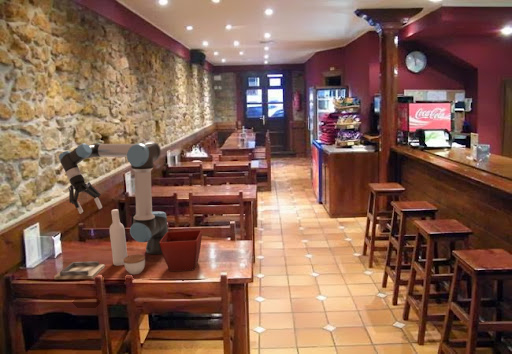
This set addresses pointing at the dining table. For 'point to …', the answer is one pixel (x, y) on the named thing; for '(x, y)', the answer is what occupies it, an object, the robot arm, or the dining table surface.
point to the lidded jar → (134, 263)
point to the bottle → (117, 239)
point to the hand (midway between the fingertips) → (91, 210)
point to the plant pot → (181, 249)
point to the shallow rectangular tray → (80, 270)
